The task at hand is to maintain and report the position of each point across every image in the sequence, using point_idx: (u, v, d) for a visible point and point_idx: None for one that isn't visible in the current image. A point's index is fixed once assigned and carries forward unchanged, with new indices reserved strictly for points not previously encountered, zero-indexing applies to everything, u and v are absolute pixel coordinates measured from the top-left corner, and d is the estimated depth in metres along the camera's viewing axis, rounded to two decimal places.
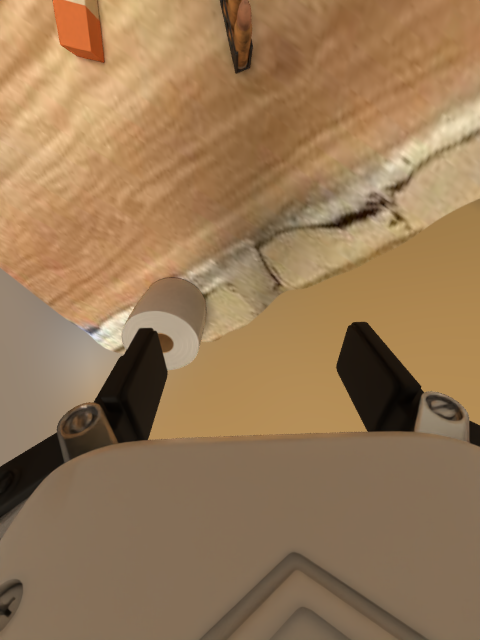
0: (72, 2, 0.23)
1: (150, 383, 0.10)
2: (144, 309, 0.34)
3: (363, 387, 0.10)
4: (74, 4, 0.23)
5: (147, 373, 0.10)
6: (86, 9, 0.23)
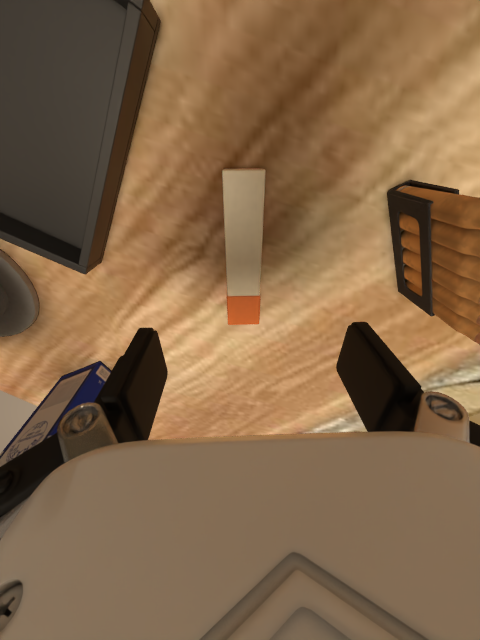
0: (247, 296, 0.22)
1: (150, 383, 0.10)
2: None
3: (363, 387, 0.10)
4: (248, 297, 0.22)
5: (147, 373, 0.10)
6: (259, 295, 0.22)
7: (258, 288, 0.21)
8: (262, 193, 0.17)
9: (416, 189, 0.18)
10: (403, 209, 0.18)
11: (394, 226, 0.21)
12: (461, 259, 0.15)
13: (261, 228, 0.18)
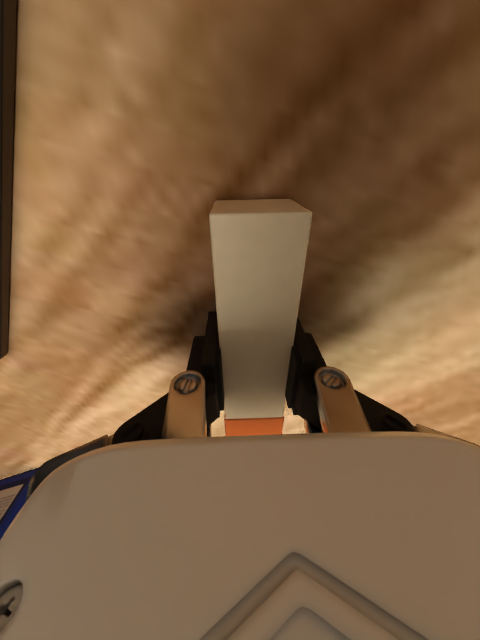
0: (260, 418, 0.12)
1: None
2: None
3: None
4: (263, 420, 0.12)
5: None
6: (281, 414, 0.12)
7: (281, 408, 0.12)
8: (301, 260, 0.08)
9: None
10: None
11: None
12: None
13: (293, 322, 0.09)
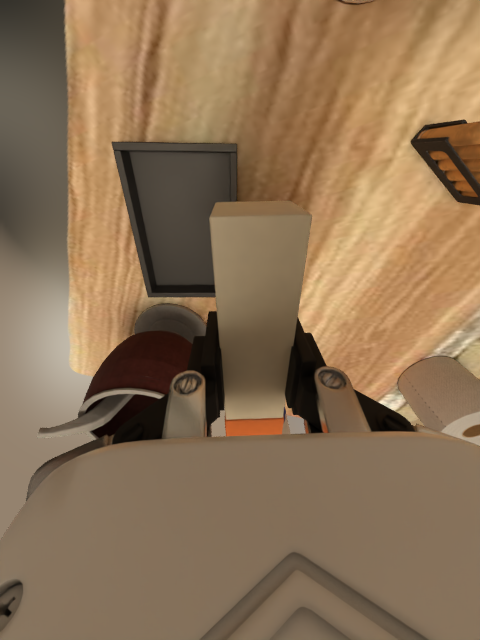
0: (260, 418, 0.12)
1: None
2: (454, 414, 0.37)
3: None
4: (263, 420, 0.12)
5: None
6: (282, 415, 0.12)
7: (281, 408, 0.12)
8: (301, 262, 0.08)
9: (433, 131, 0.24)
10: (429, 148, 0.25)
11: (428, 161, 0.27)
12: None
13: (294, 324, 0.09)
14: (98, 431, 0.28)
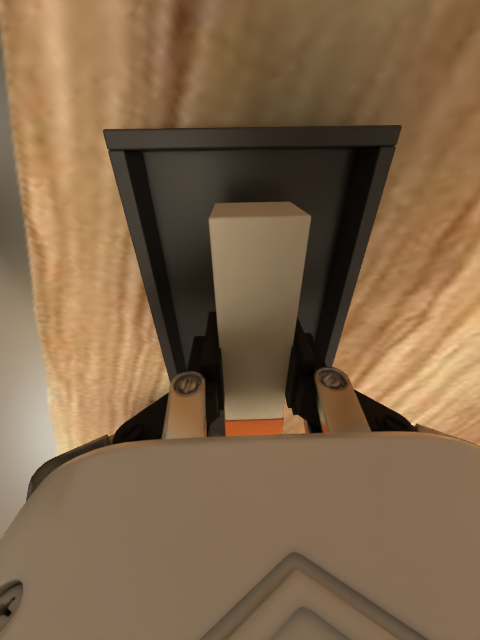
0: (260, 419, 0.12)
1: None
2: None
3: None
4: (263, 421, 0.12)
5: None
6: (281, 415, 0.12)
7: (281, 409, 0.12)
8: (300, 263, 0.08)
9: None
10: None
11: None
12: None
13: (293, 324, 0.09)
14: None
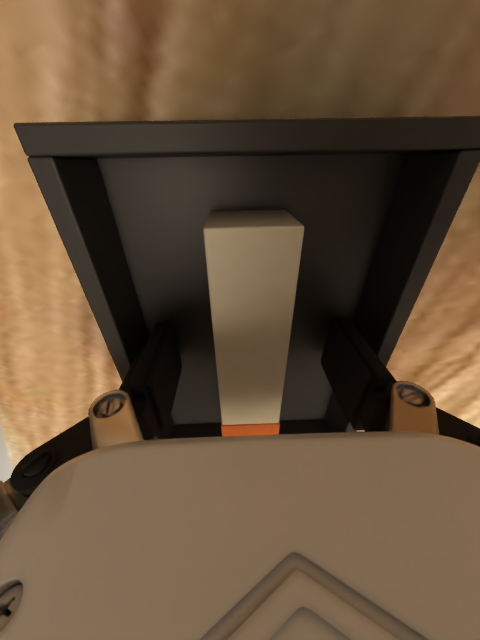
0: (256, 424, 0.12)
1: (169, 374, 0.10)
2: None
3: (342, 379, 0.10)
4: (259, 425, 0.12)
5: (166, 364, 0.10)
6: (278, 420, 0.13)
7: (277, 414, 0.12)
8: (294, 272, 0.08)
9: None
10: None
11: None
12: None
13: (288, 331, 0.09)
14: None
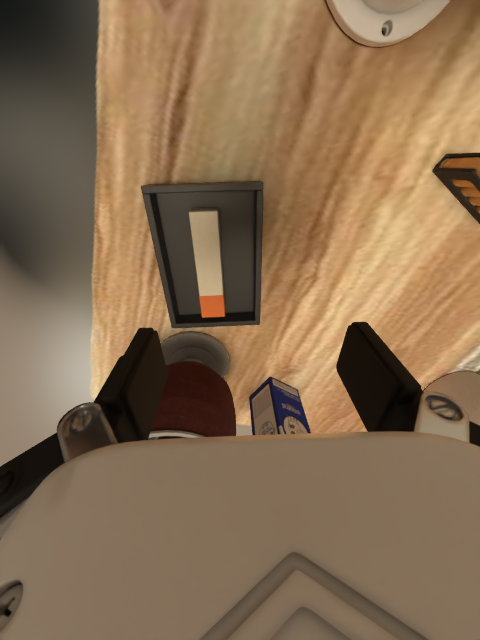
0: (214, 295, 0.30)
1: (150, 383, 0.10)
2: None
3: (363, 387, 0.10)
4: (215, 296, 0.30)
5: (147, 373, 0.10)
6: (223, 295, 0.30)
7: (221, 289, 0.29)
8: (216, 225, 0.25)
9: (456, 161, 0.24)
10: (453, 177, 0.25)
11: (450, 187, 0.27)
12: None
13: (218, 248, 0.27)
14: None
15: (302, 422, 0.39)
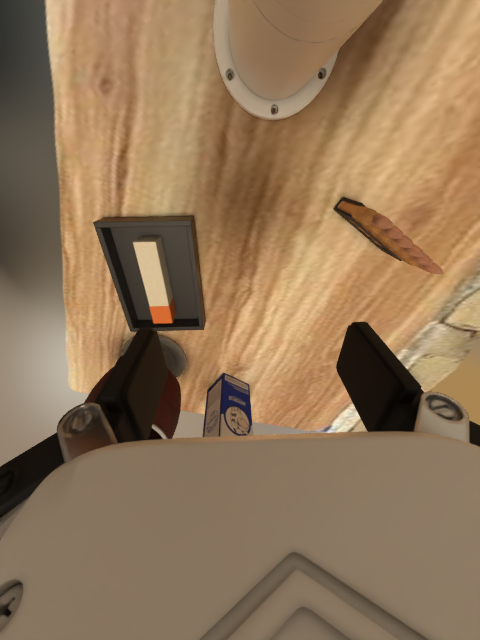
0: (161, 306, 0.36)
1: (150, 383, 0.10)
2: None
3: (363, 387, 0.10)
4: (162, 306, 0.36)
5: (147, 373, 0.10)
6: (169, 306, 0.37)
7: (167, 301, 0.36)
8: (156, 252, 0.32)
9: (345, 205, 0.30)
10: (345, 216, 0.31)
11: (349, 222, 0.33)
12: (381, 235, 0.27)
13: (160, 269, 0.33)
14: None
15: (245, 412, 0.45)
